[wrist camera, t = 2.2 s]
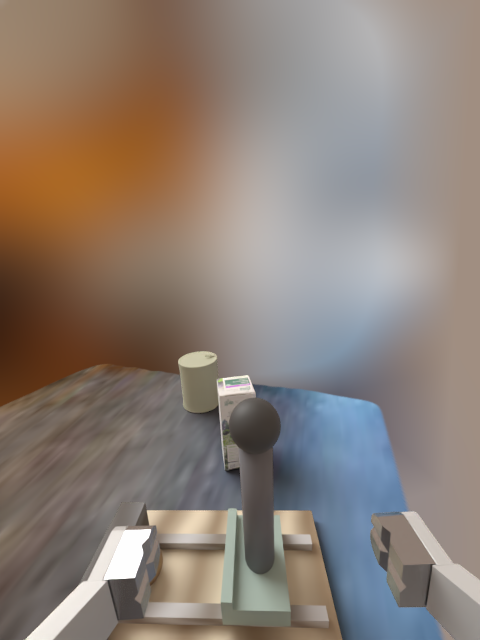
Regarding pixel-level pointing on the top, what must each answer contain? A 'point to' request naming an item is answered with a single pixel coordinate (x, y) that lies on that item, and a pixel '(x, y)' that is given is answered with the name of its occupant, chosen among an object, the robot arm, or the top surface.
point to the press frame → (206, 579)
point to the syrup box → (228, 398)
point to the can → (199, 381)
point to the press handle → (255, 526)
